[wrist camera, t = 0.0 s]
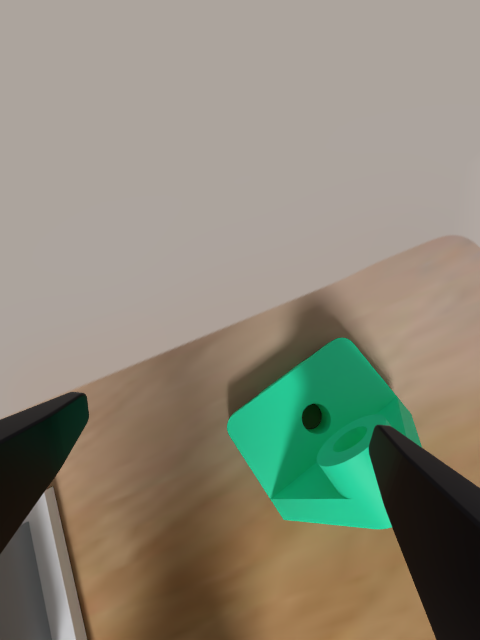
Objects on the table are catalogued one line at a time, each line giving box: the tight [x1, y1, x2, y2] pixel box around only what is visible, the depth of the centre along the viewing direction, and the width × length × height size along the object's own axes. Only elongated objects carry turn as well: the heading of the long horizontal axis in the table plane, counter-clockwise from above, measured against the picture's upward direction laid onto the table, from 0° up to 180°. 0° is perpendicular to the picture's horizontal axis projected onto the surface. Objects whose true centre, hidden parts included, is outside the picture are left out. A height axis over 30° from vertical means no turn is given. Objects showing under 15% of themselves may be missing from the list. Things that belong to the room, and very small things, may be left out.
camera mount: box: [227, 338, 422, 529], centre depth 18 cm, size 12×8×10 cm, turn 125°
